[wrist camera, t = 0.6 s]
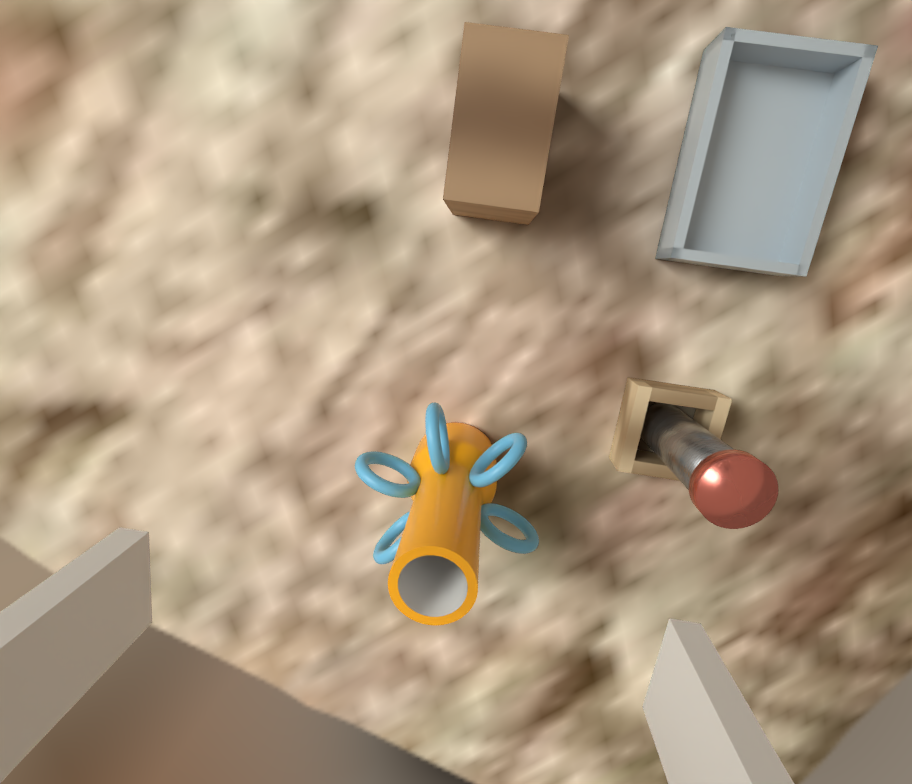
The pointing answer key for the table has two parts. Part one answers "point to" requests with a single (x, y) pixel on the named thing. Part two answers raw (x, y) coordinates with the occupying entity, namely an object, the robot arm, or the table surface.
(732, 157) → the tray
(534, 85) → the block
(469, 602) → the cylinder
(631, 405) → the socket block
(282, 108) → the table surface
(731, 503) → the pin
